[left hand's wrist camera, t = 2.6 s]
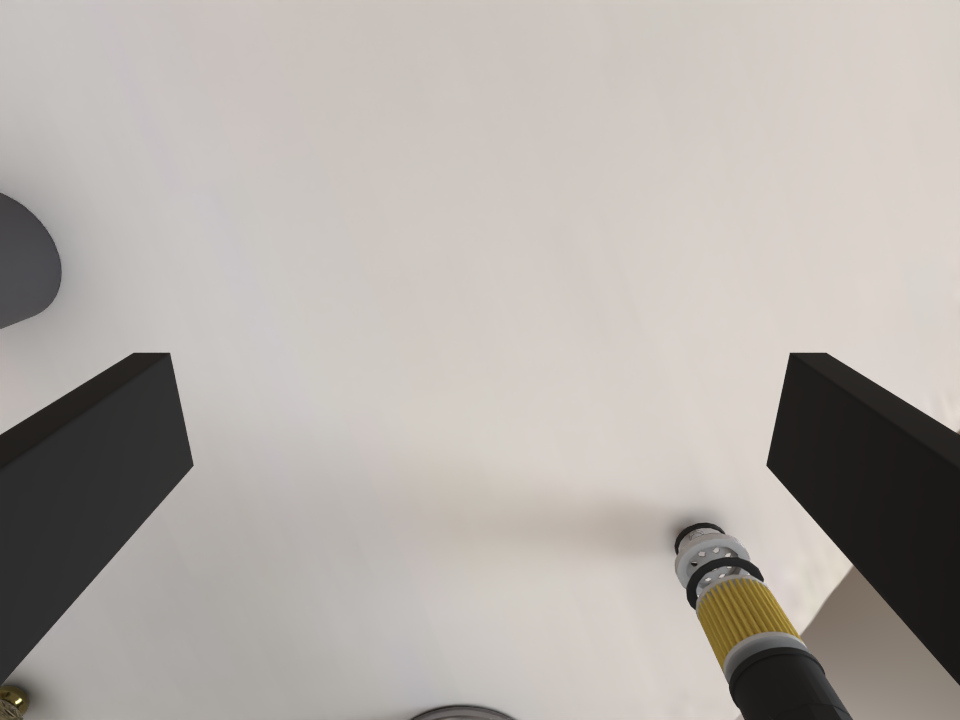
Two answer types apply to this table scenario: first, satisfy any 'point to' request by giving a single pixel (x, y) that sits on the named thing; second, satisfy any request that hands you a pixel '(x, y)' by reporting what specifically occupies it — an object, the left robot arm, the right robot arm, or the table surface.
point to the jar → (25, 264)
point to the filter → (752, 634)
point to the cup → (12, 703)
